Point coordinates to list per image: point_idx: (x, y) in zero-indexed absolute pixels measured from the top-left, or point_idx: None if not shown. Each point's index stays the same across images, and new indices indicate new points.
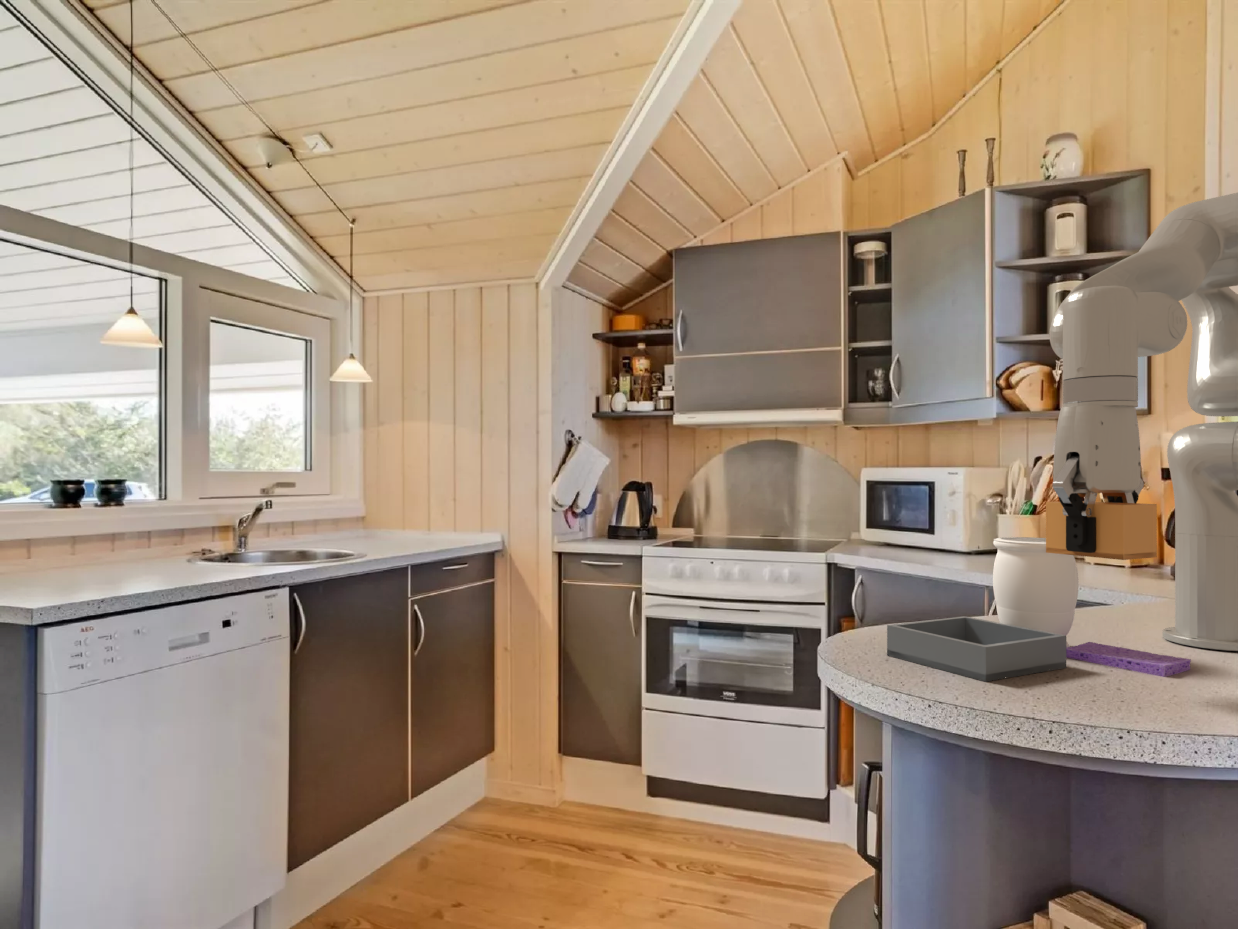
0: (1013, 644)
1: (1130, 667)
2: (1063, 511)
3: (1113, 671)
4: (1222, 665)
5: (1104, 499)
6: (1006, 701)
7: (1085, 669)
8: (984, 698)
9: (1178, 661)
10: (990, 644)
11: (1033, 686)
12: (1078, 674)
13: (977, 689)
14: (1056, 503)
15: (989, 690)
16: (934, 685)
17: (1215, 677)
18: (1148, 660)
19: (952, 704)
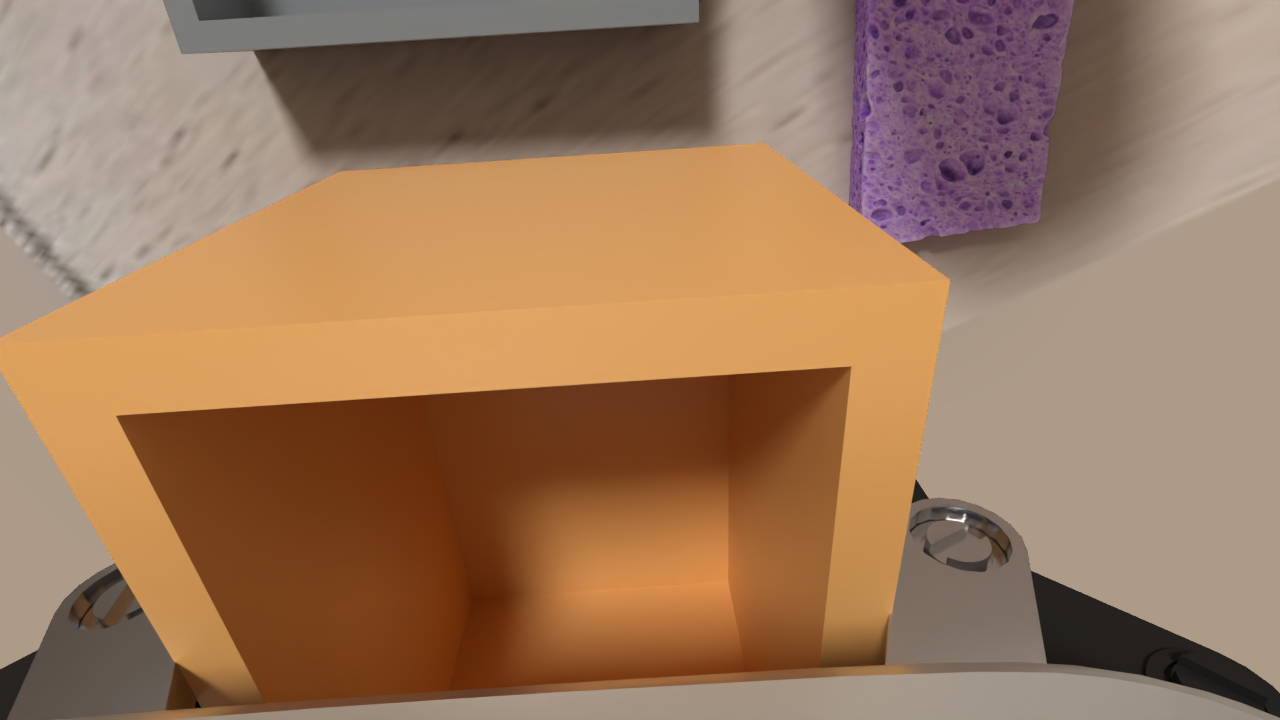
0: (354, 42)
1: (854, 142)
2: (78, 596)
3: (784, 129)
4: (1165, 218)
5: (886, 654)
6: (182, 238)
7: (728, 68)
8: (134, 192)
9: (976, 221)
10: (235, 20)
11: (374, 156)
12: (640, 108)
13: (169, 110)
14: (86, 494)
15: (202, 134)
16: (40, 8)
17: (965, 296)
18: (906, 175)
19: (2, 201)
